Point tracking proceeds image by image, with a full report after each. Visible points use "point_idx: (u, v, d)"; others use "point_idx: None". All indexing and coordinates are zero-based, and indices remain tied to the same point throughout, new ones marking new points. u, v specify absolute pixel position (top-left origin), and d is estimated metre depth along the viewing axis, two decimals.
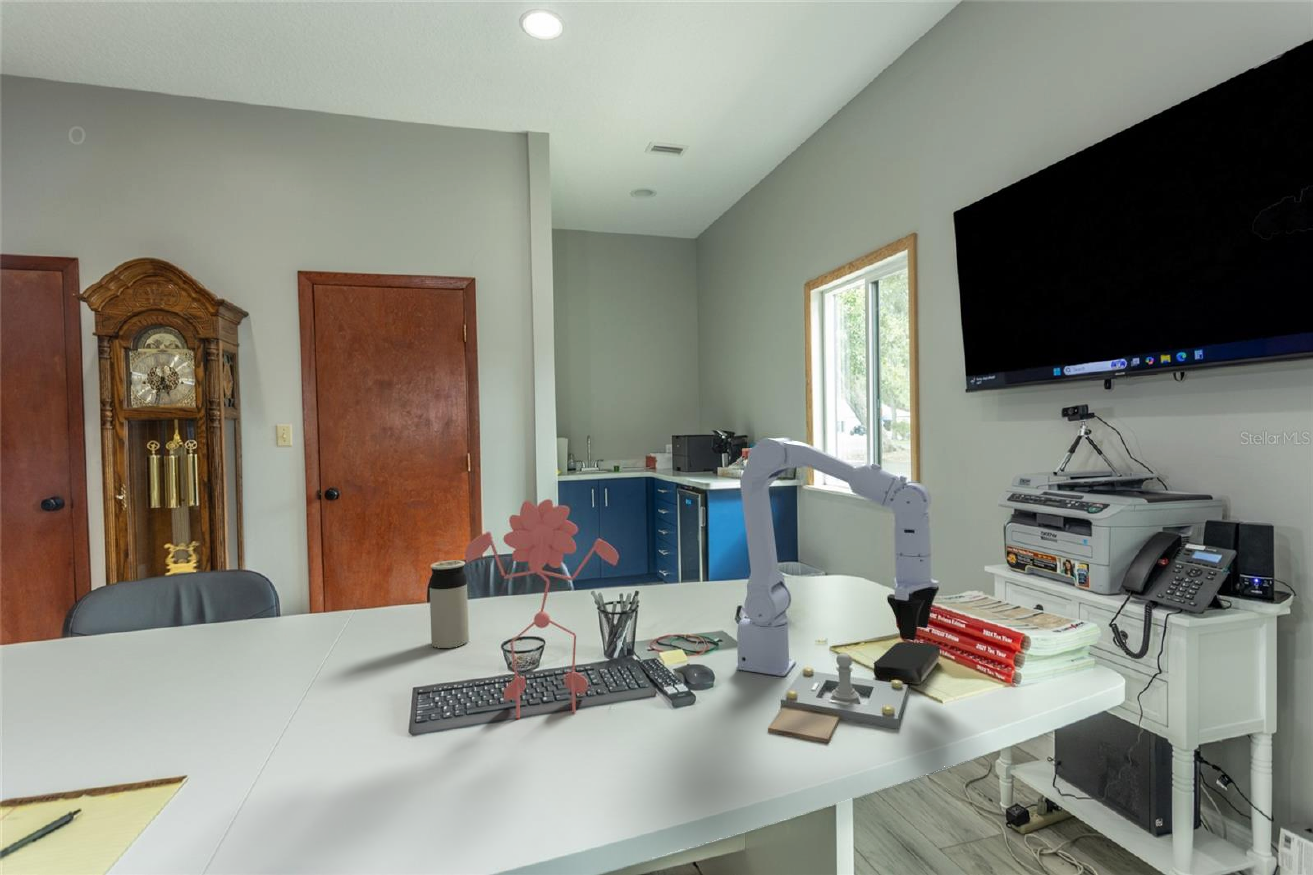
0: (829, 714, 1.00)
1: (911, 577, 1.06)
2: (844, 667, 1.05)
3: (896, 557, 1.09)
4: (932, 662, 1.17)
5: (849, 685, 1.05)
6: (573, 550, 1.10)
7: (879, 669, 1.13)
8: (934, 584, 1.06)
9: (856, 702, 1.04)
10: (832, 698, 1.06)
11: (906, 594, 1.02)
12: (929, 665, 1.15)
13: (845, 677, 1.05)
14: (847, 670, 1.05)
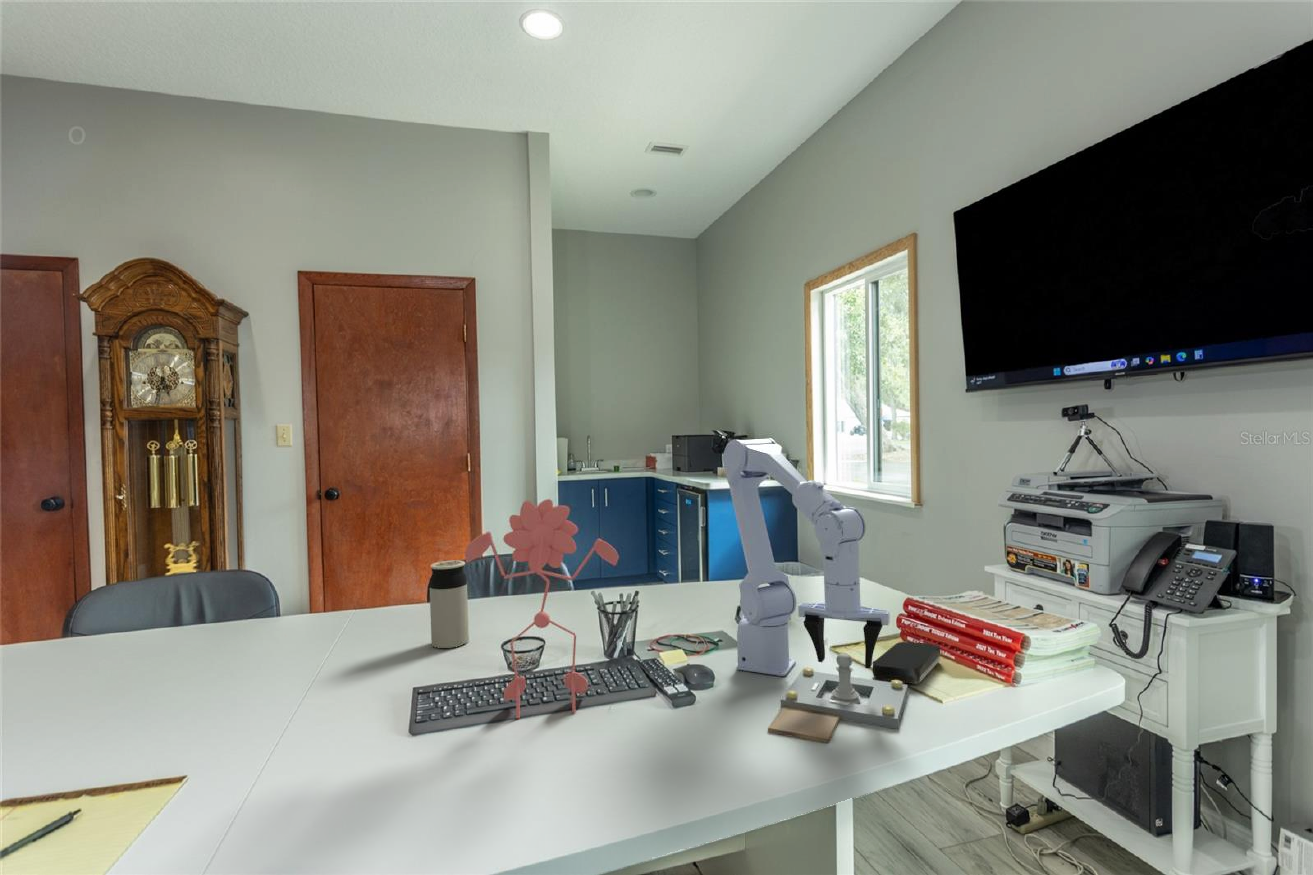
0: (829, 714, 1.00)
1: None
2: (844, 667, 1.05)
3: None
4: (932, 662, 1.17)
5: (849, 685, 1.05)
6: (573, 550, 1.10)
7: (878, 669, 1.14)
8: (832, 614, 1.03)
9: (856, 702, 1.04)
10: (832, 698, 1.06)
11: (798, 610, 1.08)
12: (928, 665, 1.15)
13: (845, 677, 1.05)
14: (847, 670, 1.05)
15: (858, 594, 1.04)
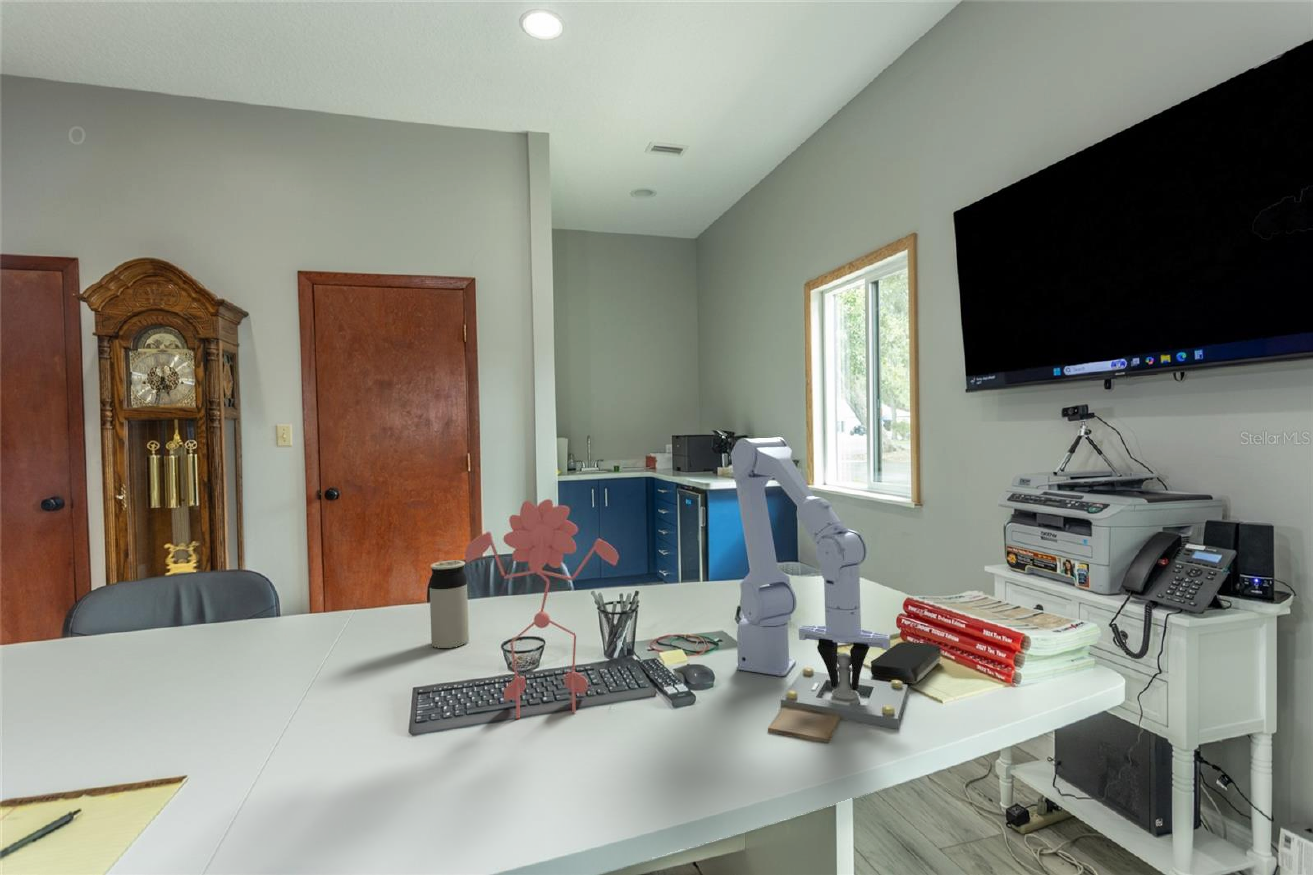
0: (829, 714, 1.00)
1: (825, 624, 1.07)
2: (844, 667, 1.05)
3: None
4: (931, 662, 1.17)
5: (849, 685, 1.05)
6: (573, 550, 1.10)
7: (876, 668, 1.14)
8: (832, 638, 1.03)
9: (856, 702, 1.04)
10: (832, 698, 1.06)
11: (799, 633, 1.08)
12: (927, 665, 1.15)
13: (845, 677, 1.05)
14: (847, 669, 1.05)
15: (859, 618, 1.04)
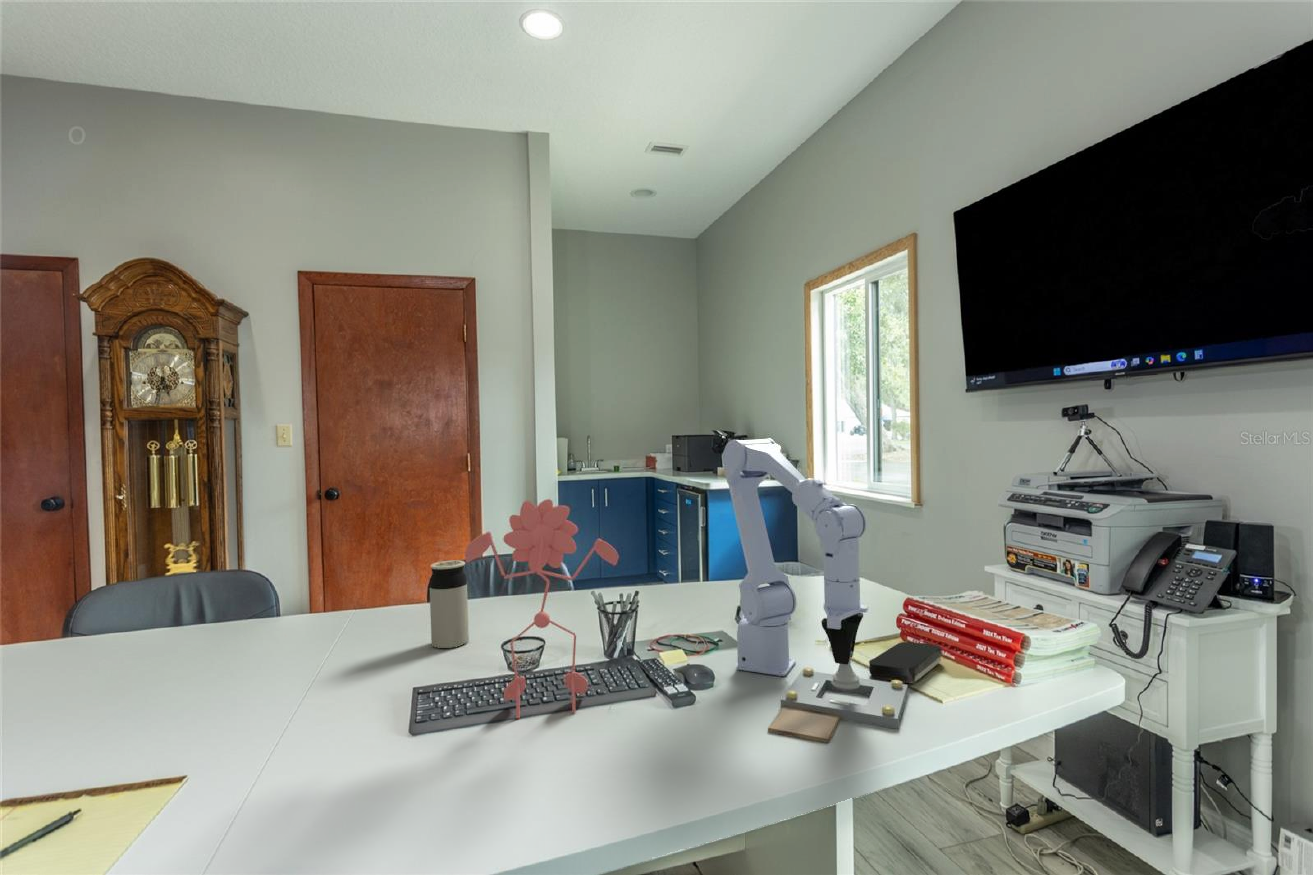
0: (829, 714, 1.00)
1: (842, 603, 1.03)
2: None
3: (826, 583, 1.05)
4: (930, 662, 1.16)
5: (849, 668, 1.05)
6: (573, 550, 1.10)
7: (874, 668, 1.14)
8: (864, 610, 1.03)
9: (856, 685, 1.04)
10: (832, 682, 1.06)
11: (839, 623, 0.99)
12: (926, 665, 1.15)
13: None
14: None
15: None
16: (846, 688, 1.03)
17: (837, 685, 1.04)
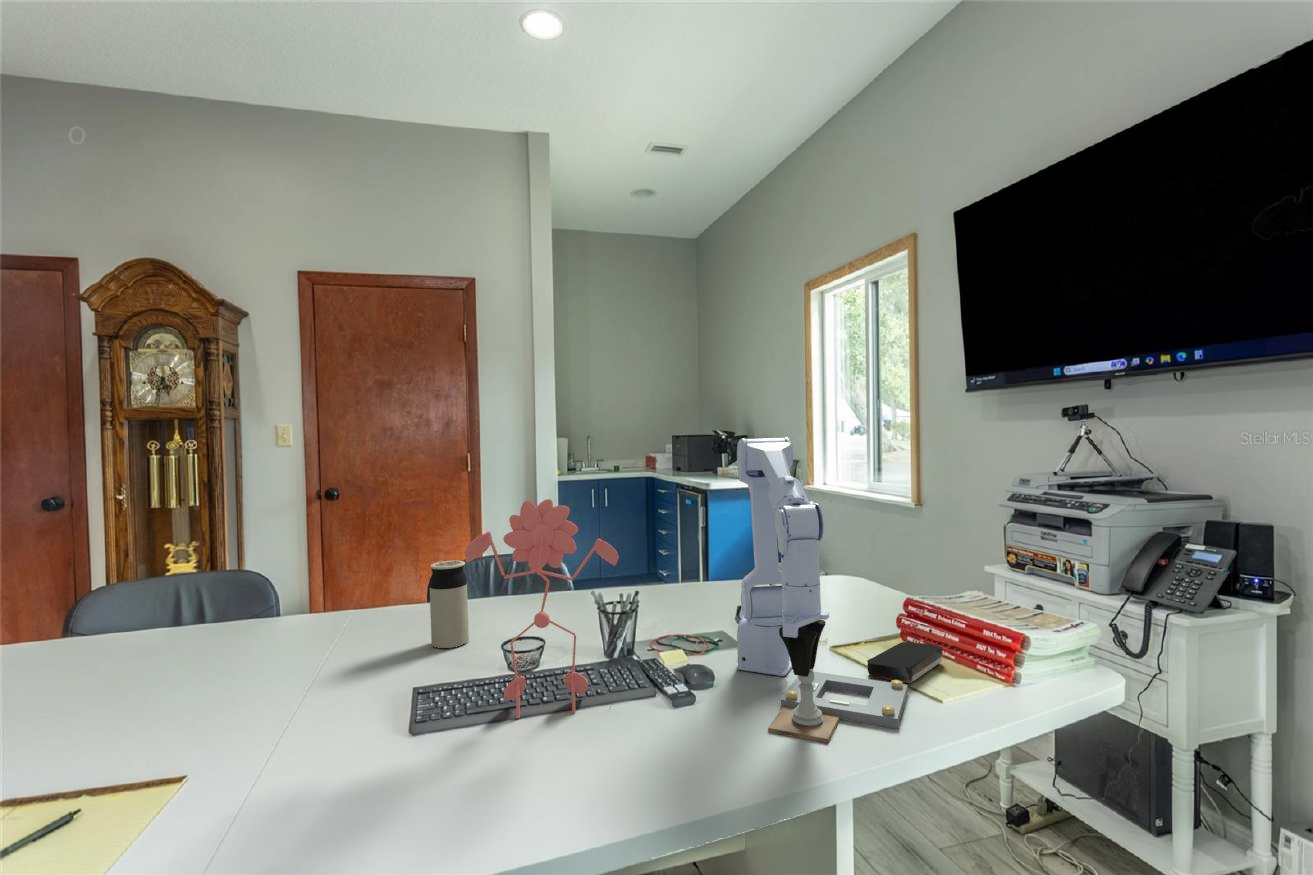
0: (829, 714, 1.00)
1: (800, 609, 0.95)
2: (806, 684, 0.97)
3: (783, 587, 0.97)
4: (929, 663, 1.16)
5: (811, 703, 0.97)
6: (573, 550, 1.10)
7: (871, 667, 1.15)
8: (824, 617, 0.95)
9: (818, 722, 0.96)
10: (793, 717, 0.98)
11: (795, 630, 0.91)
12: (925, 665, 1.15)
13: (807, 694, 0.97)
14: (808, 686, 0.97)
15: None
16: (807, 725, 0.96)
17: (798, 721, 0.97)
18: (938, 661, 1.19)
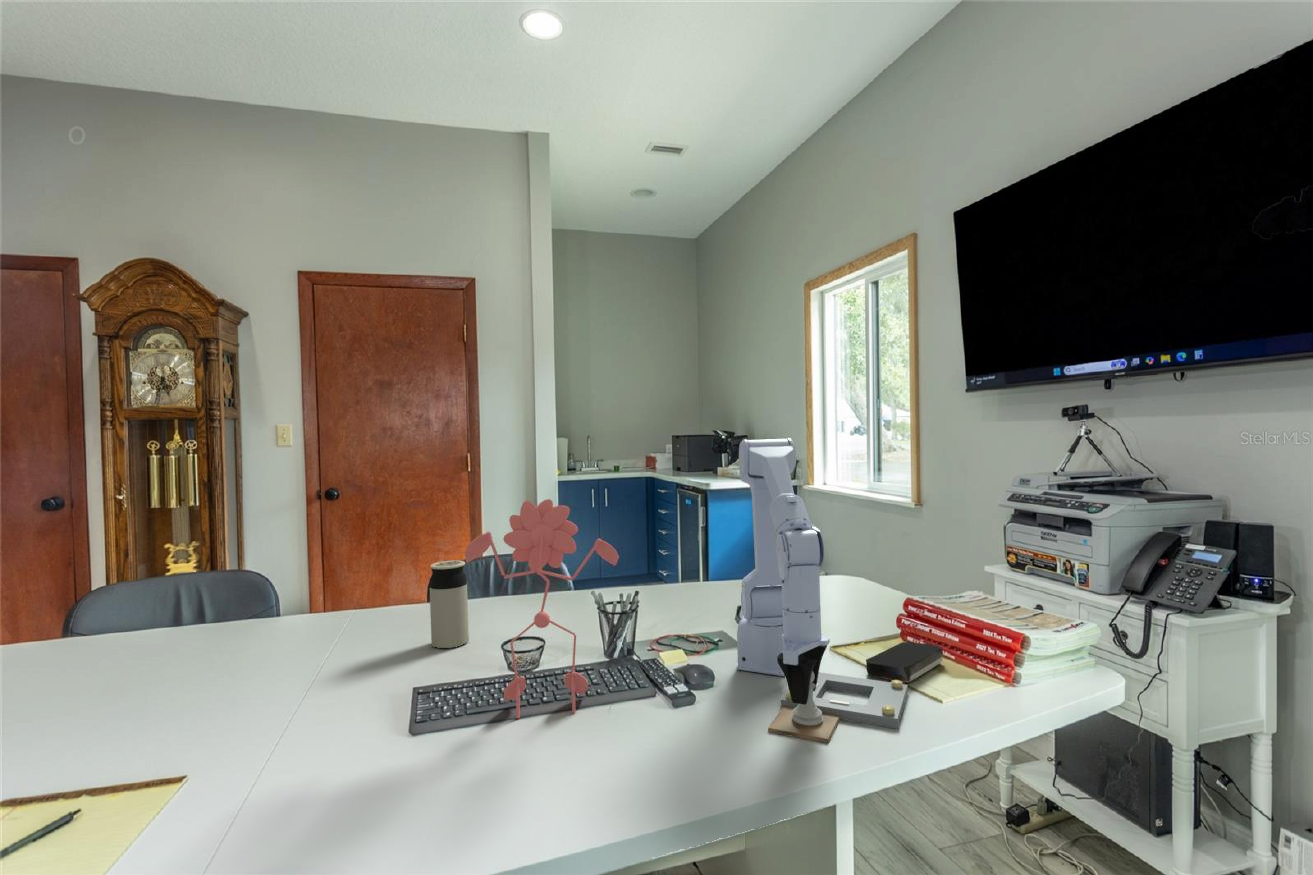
0: (829, 714, 1.00)
1: (800, 635, 0.95)
2: None
3: (784, 613, 0.97)
4: (929, 663, 1.16)
5: (811, 703, 0.97)
6: (573, 550, 1.10)
7: (870, 666, 1.15)
8: (824, 642, 0.95)
9: (818, 721, 0.96)
10: (793, 716, 0.98)
11: (795, 658, 0.91)
12: (924, 665, 1.15)
13: None
14: None
15: None
16: (807, 725, 0.96)
17: (798, 721, 0.97)
18: (938, 661, 1.19)
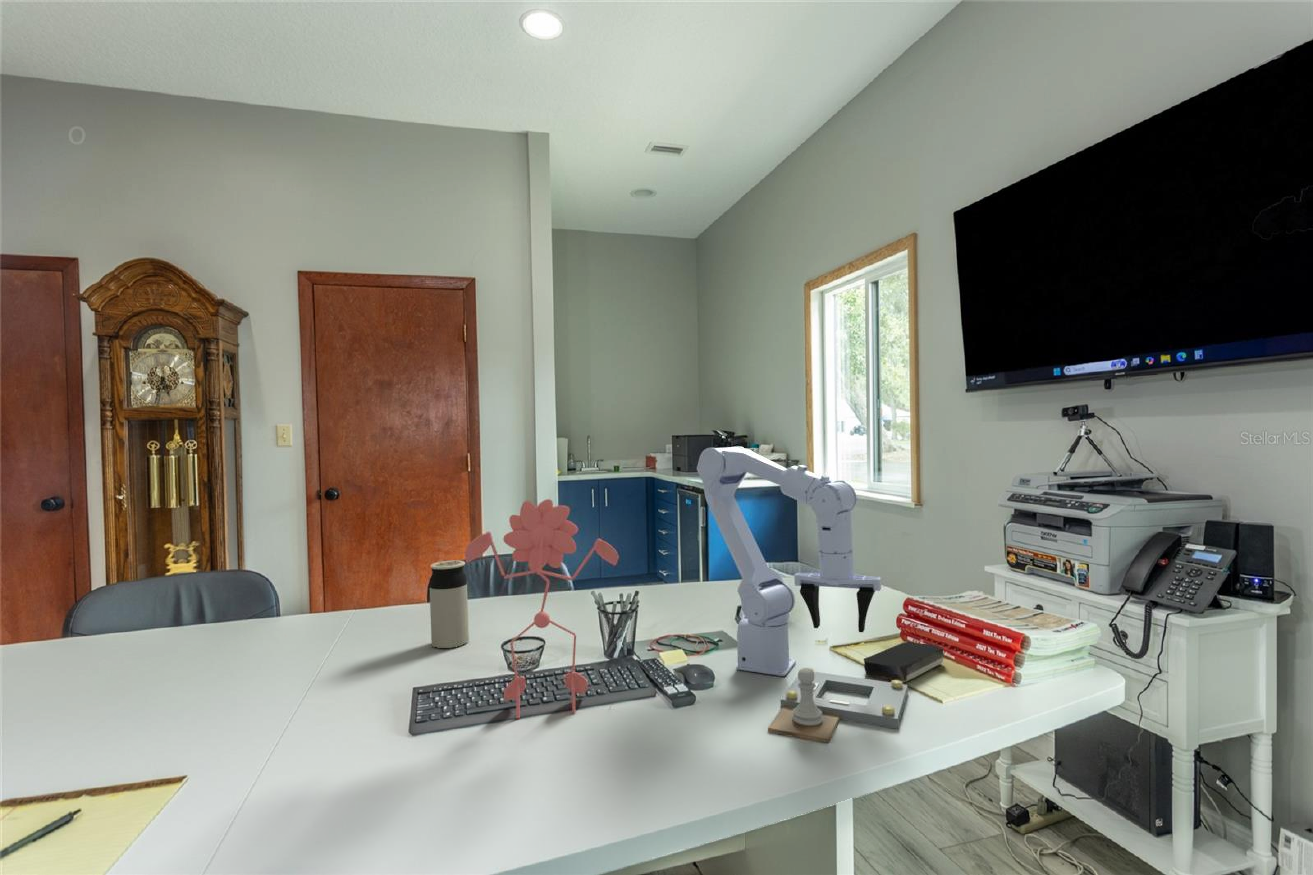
0: (829, 714, 1.00)
1: None
2: (806, 683, 0.97)
3: None
4: (928, 663, 1.16)
5: (811, 703, 0.97)
6: (573, 550, 1.10)
7: (867, 665, 1.16)
8: (826, 581, 1.08)
9: (818, 721, 0.96)
10: (793, 716, 0.98)
11: None
12: (922, 665, 1.15)
13: (807, 694, 0.97)
14: (809, 686, 0.97)
15: (851, 562, 1.09)
16: (807, 725, 0.96)
17: (798, 721, 0.97)
18: (938, 662, 1.19)
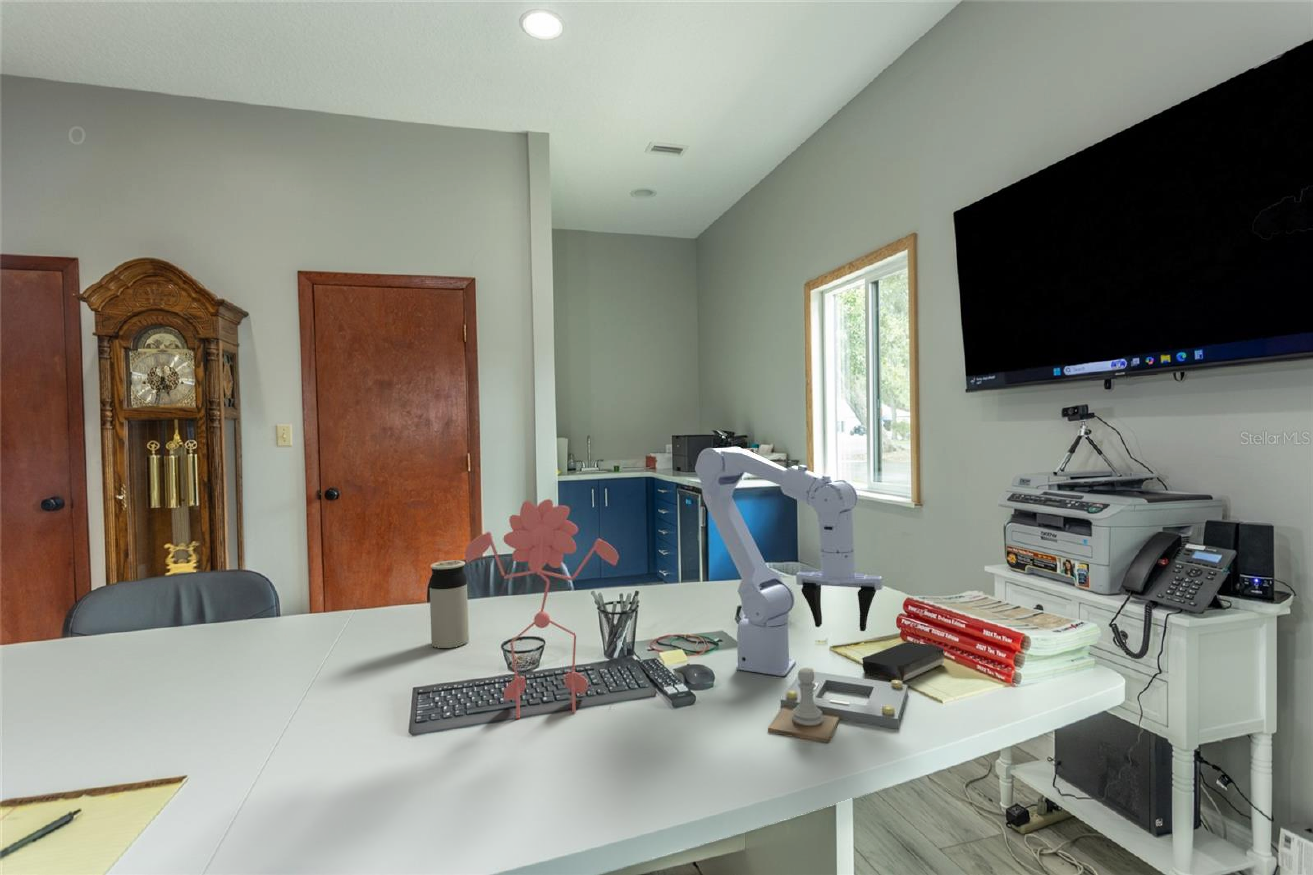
0: (829, 714, 1.00)
1: (821, 569, 1.13)
2: (806, 683, 0.97)
3: None
4: (927, 663, 1.16)
5: (811, 703, 0.97)
6: (573, 550, 1.10)
7: (865, 664, 1.16)
8: (828, 580, 1.09)
9: (818, 721, 0.96)
10: (793, 716, 0.98)
11: (796, 579, 1.14)
12: (920, 665, 1.15)
13: (807, 694, 0.97)
14: (808, 686, 0.97)
15: (852, 561, 1.10)
16: (807, 725, 0.96)
17: (798, 721, 0.97)
18: (938, 662, 1.19)
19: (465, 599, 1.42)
